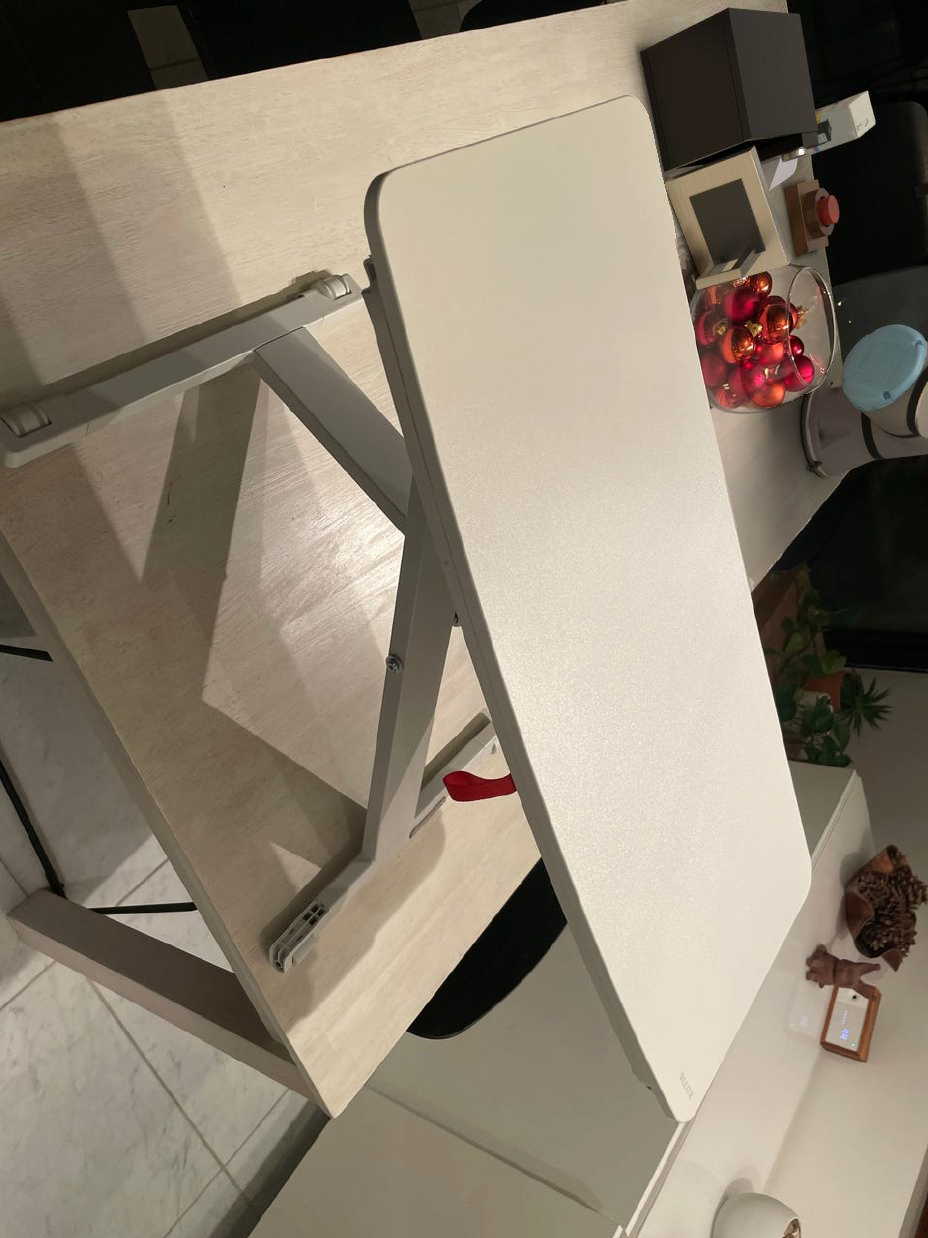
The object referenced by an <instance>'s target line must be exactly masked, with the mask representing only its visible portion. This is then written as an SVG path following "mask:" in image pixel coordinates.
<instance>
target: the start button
mask: <svg viewBox="0 0 928 1238" xmlns="http://www.w3.org/2000/svg"><path fill="white" fill-rule="evenodd" d="M818 209H819V215H820V219H821V222H822V224H823V225H824V226H827V225H830V224H833V223H834V224H836V223H838V222H839V218H840V208H839V203H838V200H837V198H836V197H835V196H834V195H829V196H828V197H825V198H822V199H820V200H819V207H818Z"/></svg>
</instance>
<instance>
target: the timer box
mask: <svg viewBox="0 0 928 1238" xmlns="http://www.w3.org/2000/svg"><path fill="white" fill-rule="evenodd" d="M783 192H784V198H785V203H786V210H787V215H788V222H789V226H790V233H791V239H792V244H793V250H794V256H795V257H796V256H800V255H803V254H807V253H811V252H813V251H817V250H819V249H823V248H826V247H829V238H828V236H830V235H832V233H833V231H834V228H835V223H833V224H830V225H827V226H824V225H823V224H822V222H821V219H820V215H819V209H818V207H819V200H820V199H822V198H825V197H828V196H830V194H829V192H828V191H827V190H826V189H825V187H820V183H819V179H813V180H808V181H803V182H799V183H795V184H792V185H789V186H786V187H783Z"/></svg>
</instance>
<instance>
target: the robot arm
mask: <svg viewBox="0 0 928 1238" xmlns="http://www.w3.org/2000/svg"><path fill="white" fill-rule="evenodd" d="M914 192H915V198H916V199H917V198H921V197H924V196H927V195H928V182H925V183H922V184H918V185H916V186H914ZM840 373H841V374H840V378H837V379H835V380H824V381H825V382H824V383H823V384H822V385H821V386H820V387H819V388H817V389H816V390H814V391H812V392H810V393H808V394H806V393H805V396H804V398H803V403H802V407H801V417H800V419H801V423H800V424H801V436H802V438H801V439H802V443H803V448H804V449H803V450H804V452H805V455H806V458H807V461H808V464H809V465H810V467H809V468H807V471H809V473H813V472H814V473H815V474H816V475H817V476H818V477H821V478H825V479H826V478H834V477H837V476H841V475H843V474H845V473H847V472H848V471H850V470H853V469H856V468H859V467H861V466H864V465H866V464H868V463H870V462H873V461H879V460H889V459H890V460H891V459H898V458H907V457H915V456H924V455H928V341H927V340H926V339H925V337H924V336H923V334H922V333H921V332H920V331H917V330H916V329H915V328H912V327H910V326H907V325H904V324H890V325H884V326H881V327H878V328H876V329H875V330H874V331H872V332H871V333H869V334H868V333H867V334H866V335H864V336H863V337H862V338H861V339H859V341H857V343H856V344H855V345H854V346H853V347H852V348H851V350H849V352H848V354H847V356H846V357H845V360H844V362H843V365H842V368H841V372H840Z"/></svg>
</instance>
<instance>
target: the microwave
mask: <svg viewBox="0 0 928 1238" xmlns="http://www.w3.org/2000/svg"><path fill="white" fill-rule="evenodd" d="M639 57H640V62H641V67H642V70H643V76H644V81H645V86H646V90H647V95H648V101H649V106H650V110H651V116H652V120H653V125H654V129H655V135H656V140H657V144H658V150H659V154H660V158H661V159H660V160H661V165H662V168H663V173H669V172H677V171H682V170H691V169H695V168H697V167H700V166H703V165H705V164H708V163H710V162H713V161H716V160H718V159H721V158H724V157H726V156H729V155H731V154H734V153H737V152H739V151H742V150H745V149H747V148H750V147H753V146H755V149H756V152H757V155H758V158H759V161H760V164H761V165H763V164H766V163H769V162H771V161H774V160H777V159H780V158H781V159H782V162H786V161H790V160H793V159H796V158H799V157H802V156H804V155H806V154H807V148H810V147H813V146H815V145H818V144H819V142H818V135H817V132H816V131H818V125H817V119H816V113H815V110H816V108H815V101H814V96H813V89H812V82H811V76H810V70H809V69H810V68H809V63H808V57H807V51H806V45H805V37H804V33H803V26H802V21H801V14H800V13H793V12H781V11H770V10H761V9H760V10H759V9H749V8H740V7H726V8H725V9H722V10H721V11H719V12H717V13H714V14H712V15H711V16H709V17H707V18H704V19H702V20H700V21H698V22H696V23H695V24H693V25H690V26H689V27H686V28H684V29H682V30H680V31H678V32H677V33H675V34H672V35H670V36H668V37H666V38H664V39H662V40H661V41H658V42H657V43H654V44H652V45H650V46H648V47H646V48H643V50H640V51H639Z"/></svg>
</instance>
